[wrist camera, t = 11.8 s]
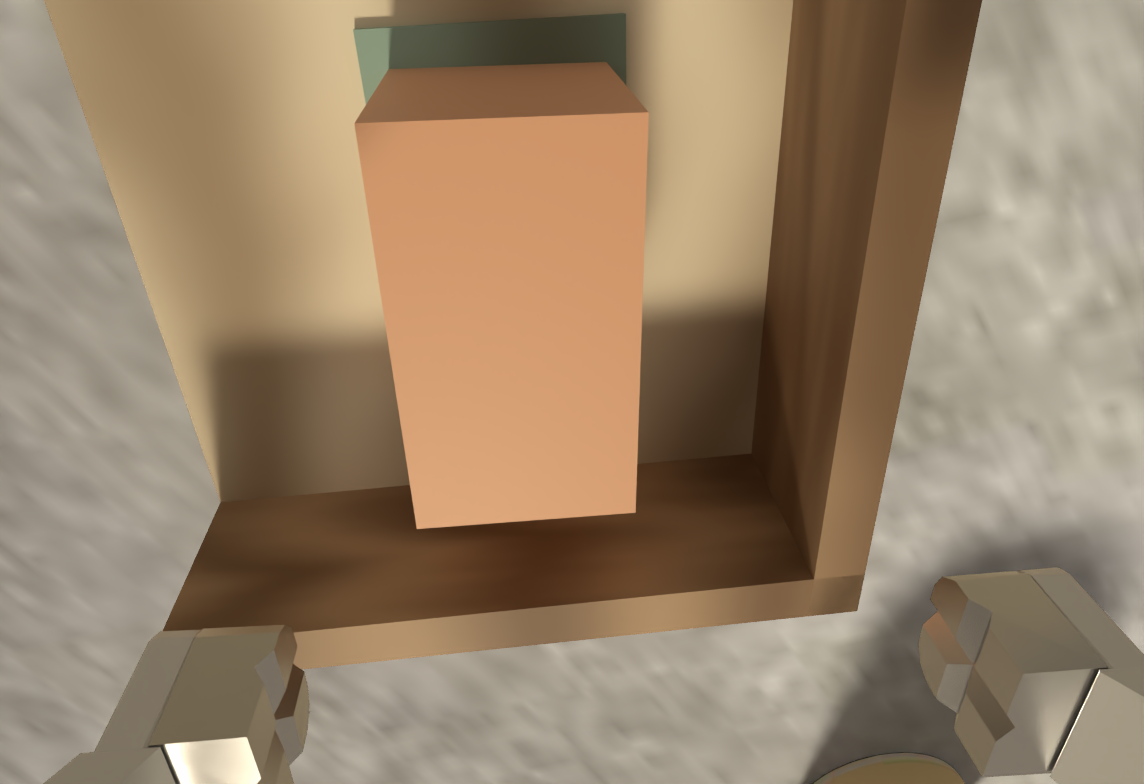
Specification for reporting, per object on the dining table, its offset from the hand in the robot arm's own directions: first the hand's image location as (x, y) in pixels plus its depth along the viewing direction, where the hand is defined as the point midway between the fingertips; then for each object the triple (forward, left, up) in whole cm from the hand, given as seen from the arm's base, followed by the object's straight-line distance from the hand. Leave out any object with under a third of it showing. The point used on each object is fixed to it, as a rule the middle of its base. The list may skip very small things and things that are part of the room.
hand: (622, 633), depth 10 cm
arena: (-2, +1, -12) cm, 12 cm away
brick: (-1, +1, -11) cm, 11 cm away
